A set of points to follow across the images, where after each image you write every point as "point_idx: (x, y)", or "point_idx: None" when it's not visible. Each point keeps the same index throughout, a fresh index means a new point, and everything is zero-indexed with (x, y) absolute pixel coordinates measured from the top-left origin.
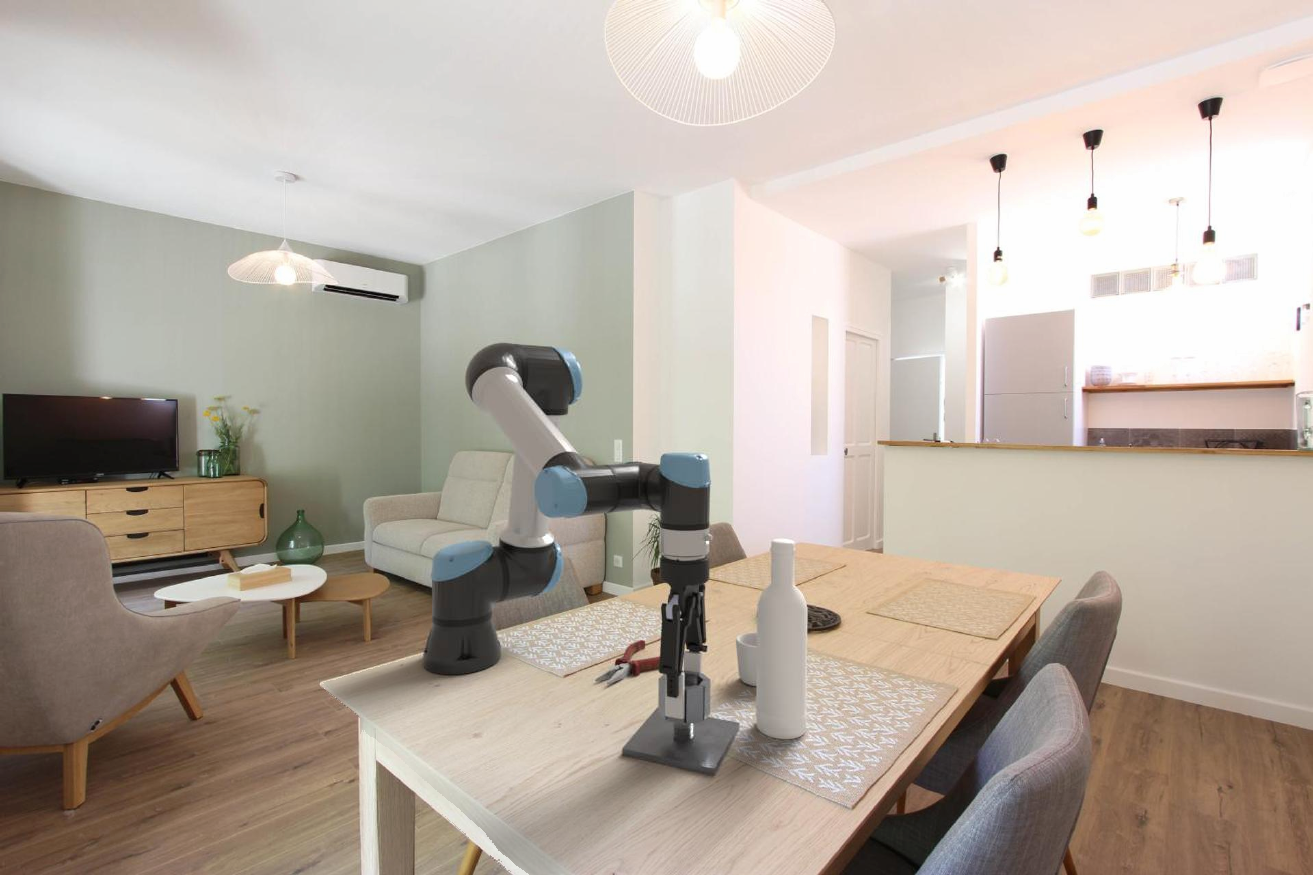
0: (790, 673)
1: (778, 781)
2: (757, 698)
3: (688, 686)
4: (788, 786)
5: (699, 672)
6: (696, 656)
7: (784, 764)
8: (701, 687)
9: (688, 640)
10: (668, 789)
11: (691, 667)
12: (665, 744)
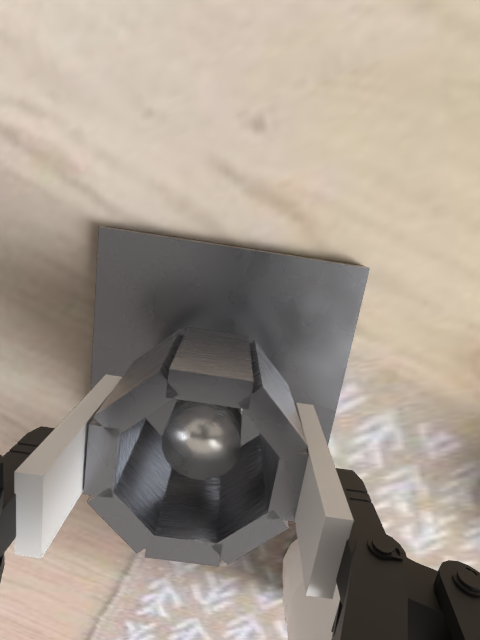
0: None
1: (118, 562)
2: (338, 592)
3: (235, 457)
4: (107, 578)
5: (296, 516)
6: (308, 566)
7: (182, 572)
8: (131, 547)
9: (343, 610)
10: (9, 370)
11: (303, 497)
12: (154, 338)
